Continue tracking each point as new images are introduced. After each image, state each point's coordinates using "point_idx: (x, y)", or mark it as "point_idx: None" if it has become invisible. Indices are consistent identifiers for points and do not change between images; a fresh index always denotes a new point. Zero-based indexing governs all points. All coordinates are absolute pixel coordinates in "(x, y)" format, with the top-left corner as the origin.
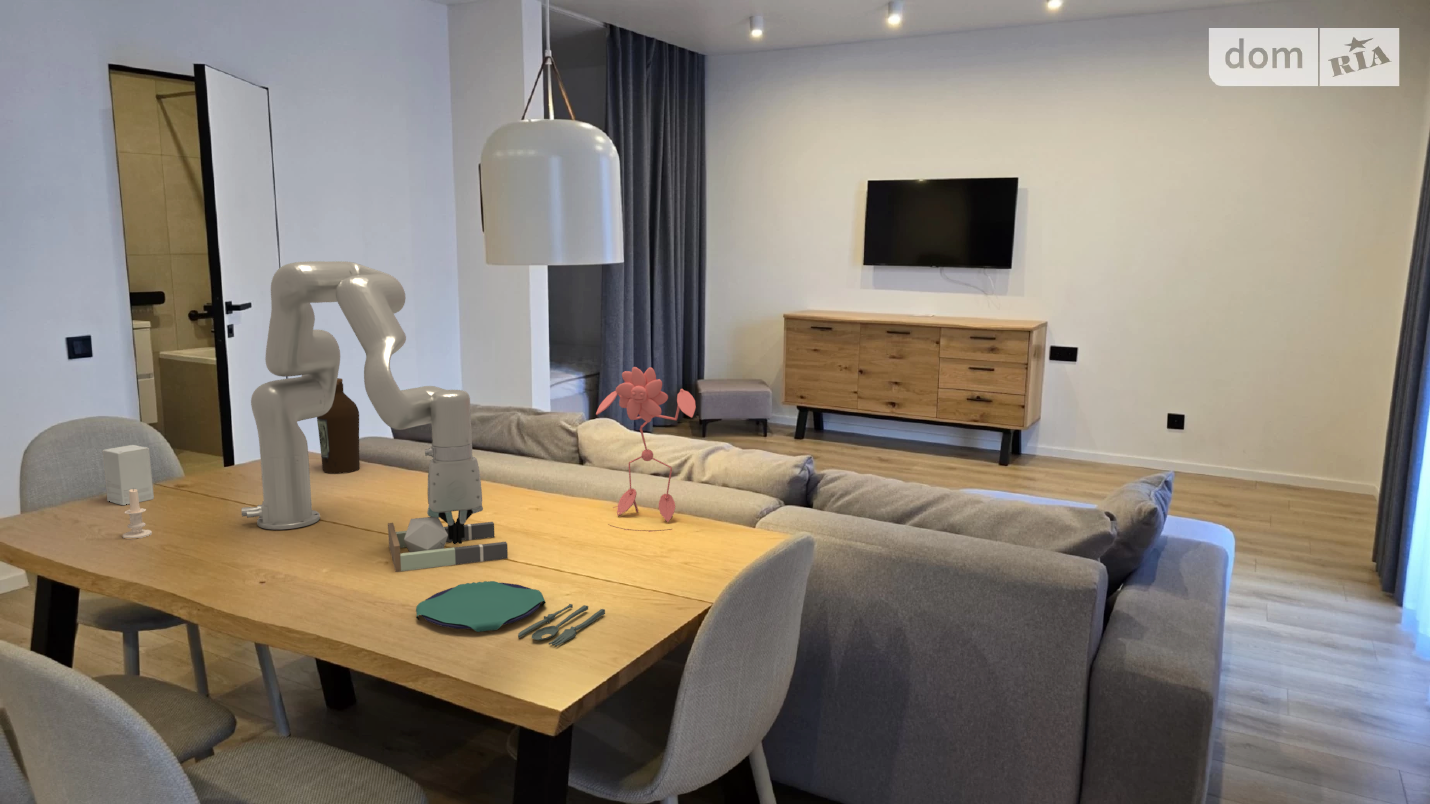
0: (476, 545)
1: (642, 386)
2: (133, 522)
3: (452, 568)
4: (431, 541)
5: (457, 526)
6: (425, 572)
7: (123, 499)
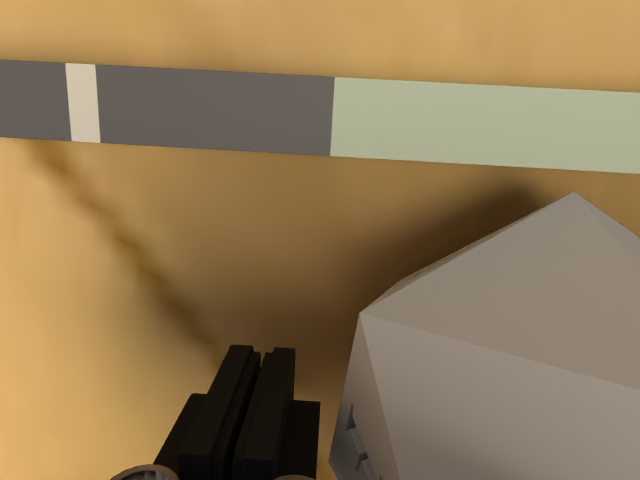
0: (122, 123)
1: None
2: None
3: (374, 14)
4: (549, 246)
5: (225, 450)
6: (581, 6)
7: None
